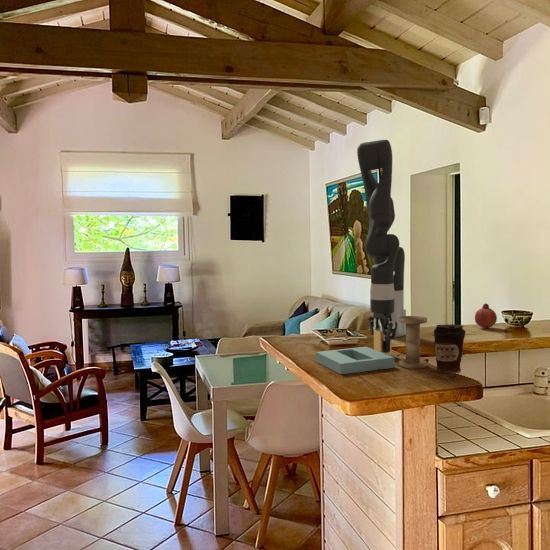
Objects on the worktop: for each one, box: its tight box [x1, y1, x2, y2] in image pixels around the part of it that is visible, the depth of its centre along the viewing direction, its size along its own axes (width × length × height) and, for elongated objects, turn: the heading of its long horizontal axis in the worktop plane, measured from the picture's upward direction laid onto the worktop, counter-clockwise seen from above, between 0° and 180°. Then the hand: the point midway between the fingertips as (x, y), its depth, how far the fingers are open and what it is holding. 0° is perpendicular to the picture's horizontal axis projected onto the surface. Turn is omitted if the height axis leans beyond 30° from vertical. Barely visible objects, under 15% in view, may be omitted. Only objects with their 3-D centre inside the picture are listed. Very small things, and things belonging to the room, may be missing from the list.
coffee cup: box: [433, 323, 466, 374], centre depth 150 cm, size 9×8×13 cm
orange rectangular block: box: [373, 329, 392, 356], centre depth 171 cm, size 4×4×8 cm
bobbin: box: [398, 315, 428, 370], centre depth 158 cm, size 8×8×14 cm
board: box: [315, 346, 396, 375], centre depth 160 cm, size 18×16×3 cm
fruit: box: [474, 303, 498, 329], centre depth 212 cm, size 8×8×10 cm
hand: (382, 350), depth 172 cm, fingers closed on orange rectangular block, 4 cm apart
